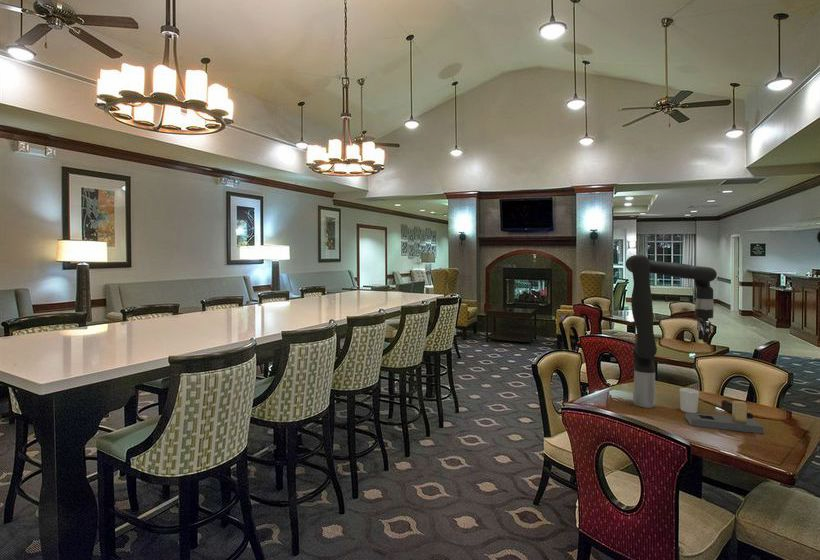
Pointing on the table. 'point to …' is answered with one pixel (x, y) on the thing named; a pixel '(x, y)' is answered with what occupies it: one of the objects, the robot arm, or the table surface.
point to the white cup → (689, 400)
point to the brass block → (739, 411)
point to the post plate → (723, 422)
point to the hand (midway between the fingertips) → (703, 341)
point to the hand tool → (728, 407)
